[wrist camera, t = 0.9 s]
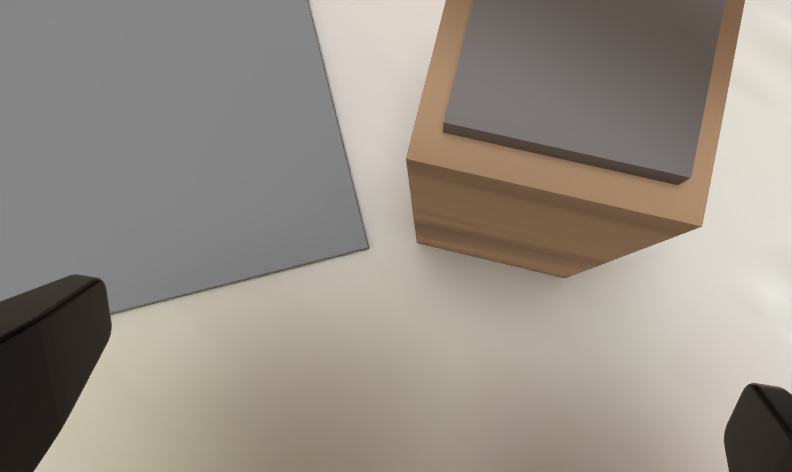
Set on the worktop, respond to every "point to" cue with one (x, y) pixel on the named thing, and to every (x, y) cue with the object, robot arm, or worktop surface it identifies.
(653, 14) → the wooden tall block
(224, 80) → the grey flat slab
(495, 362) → the worktop surface
